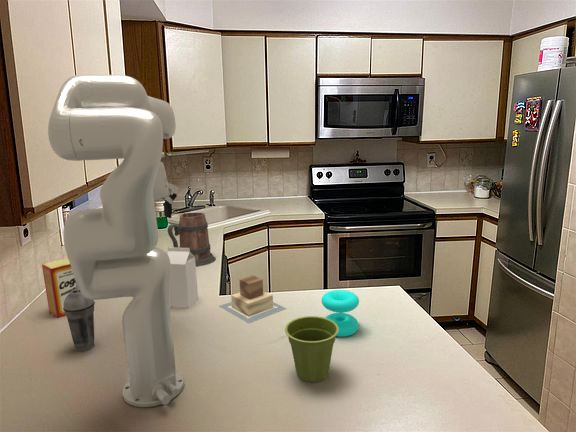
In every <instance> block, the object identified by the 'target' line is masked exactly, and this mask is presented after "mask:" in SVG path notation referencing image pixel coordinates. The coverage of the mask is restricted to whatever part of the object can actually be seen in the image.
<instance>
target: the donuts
mask: <svg viewBox="0 0 576 432" xmlns="http://www.w3.org/2000/svg"><path fill="white" fill-rule="evenodd" d="M321 304H322V306H323V307H324V308H325V309H326V310H328V311H330V312H333V313H330V314H327V315H326V316H325V317H324V318H327V319H330V320H332V321H334V322H335V323H336V324H337V325H338V328H339V331H338V334H337V335H336V337H338V338H339V337H341V338H342V337H349V336H352V335H355V334H356V333H357V331H358V330H359V326H360V325H359V322H358V321H359V320H358V319H357V318H356V317H354V315H351V314H349V312H351V311H353V310H355V309H357V307H358V306H359V304H360V299H359V297H358V296H357V294H356V293H354V292H352V291H349V290H344V289H343V290H342V289H334V290H329V291H327V292H325V293H324V294H323V295H322V297H321Z"/></svg>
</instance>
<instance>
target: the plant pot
mask: <svg viewBox="0 0 576 432" xmlns="http://www.w3.org/2000/svg"><path fill="white" fill-rule="evenodd" d="M338 331H339V328H338V325H337V324H336V323H335V322H334V321H332V320H330V319H327V318H325V317H323V316H319V315H318V316H316V315H305V316H301V317H296V318H294V319H292V320H290V321H288V323H286V325H285V326H284V332H285V334H286V336H287V337H288V342H289V344H290V347H291V352H292V357H293V362H294V367H295V371H296V372H295V373H296V375H297V377H298V378H299V379H300V380H302V381H308V382H309V383H318V382H321V381H324V380H325V379H326V378H327V377H328V375H329V372H330V365H331V360H332V354H333V349H334V344H335V342H336V337H337V336H336V335H337V334H338Z"/></svg>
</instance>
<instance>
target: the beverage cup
mask: <svg viewBox="0 0 576 432" xmlns="http://www.w3.org/2000/svg"><path fill="white" fill-rule="evenodd" d="M75 281H76V279H75ZM63 310H64V312H65V315H66V316H65V317H66V318H67V323H68V327H69V330H70V331H69V332H70V334H71V338H72V343H73V345H74V348H75V351H76V352H86V351H89V350H91V349H93V348H95V316H94V311H95V300H90V299H87V298H85V297H84V296H83V295H82V294H81V292H80V290H79V287H78V285H77V282H76V290H74V291H72V292H71V293H69V294H68V295H67V297H66V298H65V300H64V308H63Z"/></svg>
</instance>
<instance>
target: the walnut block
mask: <svg viewBox="0 0 576 432" xmlns="http://www.w3.org/2000/svg"><path fill="white" fill-rule="evenodd" d="M263 291H264V279H262V278H260V277H257V276H256V275H253V274H252V275H249V276H247V277H243V278H240V279H239V292H240V295H241V296H243V297H245V298H247V299H249V300H250V299H253V298H256V297H259V296H262V295H263Z"/></svg>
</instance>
